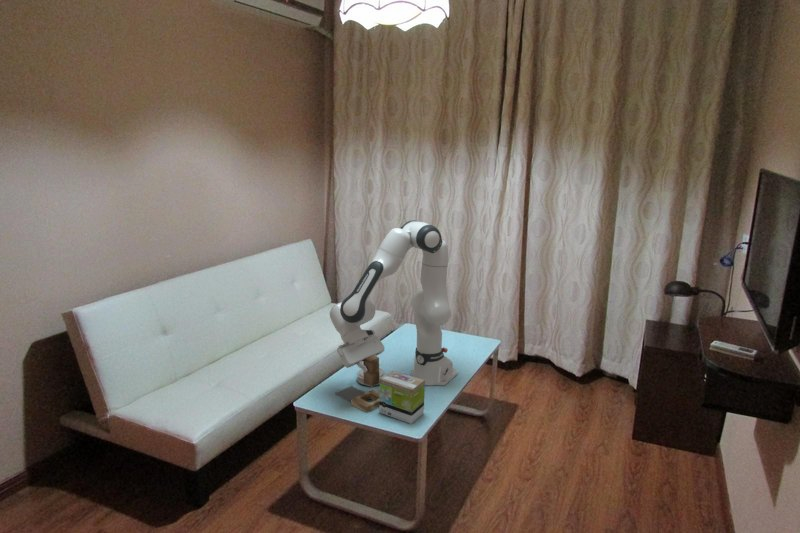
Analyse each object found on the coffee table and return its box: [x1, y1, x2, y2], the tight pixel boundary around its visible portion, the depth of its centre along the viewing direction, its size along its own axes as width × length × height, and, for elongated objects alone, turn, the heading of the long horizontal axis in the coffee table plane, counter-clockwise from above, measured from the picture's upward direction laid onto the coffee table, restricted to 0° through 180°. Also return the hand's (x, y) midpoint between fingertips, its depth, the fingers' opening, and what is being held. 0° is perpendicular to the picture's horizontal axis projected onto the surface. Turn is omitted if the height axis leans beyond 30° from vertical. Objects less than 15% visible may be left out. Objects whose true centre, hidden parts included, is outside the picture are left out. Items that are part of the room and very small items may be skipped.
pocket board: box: [350, 389, 380, 414], centre depth 210 cm, size 12×9×2 cm
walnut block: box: [362, 355, 380, 388], centre depth 207 cm, size 4×4×11 cm
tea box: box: [378, 370, 426, 425], centre depth 201 cm, size 15×10×15 cm
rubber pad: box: [334, 385, 366, 402], centre depth 218 cm, size 9×9×1 cm
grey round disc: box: [356, 367, 387, 386], centre depth 230 cm, size 13×13×5 cm
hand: (372, 368), depth 207 cm, fingers closed on walnut block, 4 cm apart
